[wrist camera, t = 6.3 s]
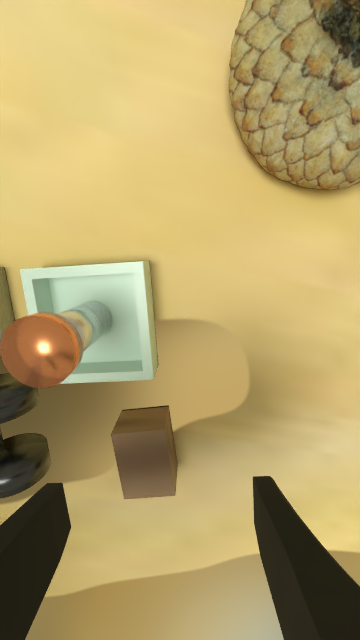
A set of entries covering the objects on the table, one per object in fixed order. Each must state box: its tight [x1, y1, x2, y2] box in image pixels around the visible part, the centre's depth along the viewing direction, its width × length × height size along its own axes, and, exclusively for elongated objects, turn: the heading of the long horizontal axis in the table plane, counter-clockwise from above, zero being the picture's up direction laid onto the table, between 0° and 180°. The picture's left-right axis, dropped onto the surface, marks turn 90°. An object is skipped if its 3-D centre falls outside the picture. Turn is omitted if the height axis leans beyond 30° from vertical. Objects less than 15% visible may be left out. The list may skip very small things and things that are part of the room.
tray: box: [20, 261, 158, 384], centre depth 18 cm, size 7×7×2 cm
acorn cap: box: [229, 0, 360, 190], centre depth 14 cm, size 10×11×10 cm
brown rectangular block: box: [111, 405, 178, 499], centre depth 20 cm, size 5×4×3 cm
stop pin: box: [0, 301, 112, 388], centre depth 15 cm, size 3×3×7 cm
